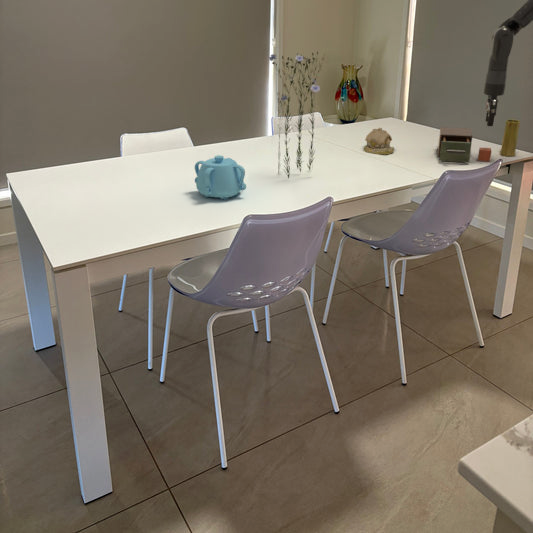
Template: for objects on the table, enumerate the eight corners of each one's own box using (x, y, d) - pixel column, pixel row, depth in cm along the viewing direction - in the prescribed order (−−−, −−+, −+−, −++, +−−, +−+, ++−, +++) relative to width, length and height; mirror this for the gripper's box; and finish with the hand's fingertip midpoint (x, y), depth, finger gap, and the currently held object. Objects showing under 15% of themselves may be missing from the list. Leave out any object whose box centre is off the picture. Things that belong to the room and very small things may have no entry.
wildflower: (310, 164, 238) (312, 46, 219) (335, 180, 219) (340, 52, 199) (258, 170, 231) (256, 49, 212) (279, 187, 212) (279, 55, 192)
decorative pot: (200, 204, 197) (198, 164, 191) (194, 189, 211) (191, 152, 205) (248, 199, 200) (247, 160, 194) (238, 185, 214) (237, 148, 208)
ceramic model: (358, 150, 259) (359, 127, 255) (374, 145, 265) (376, 123, 261) (383, 156, 249) (385, 132, 245) (399, 151, 256) (401, 128, 252)
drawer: (469, 165, 232) (472, 145, 229) (439, 163, 235) (441, 144, 232) (467, 154, 248) (470, 135, 244) (439, 152, 250) (441, 134, 247)
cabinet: (469, 159, 244) (472, 135, 240) (437, 157, 247) (440, 134, 243) (467, 150, 256) (470, 128, 252) (437, 148, 259) (440, 127, 255)
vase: (499, 155, 248) (505, 121, 242) (499, 152, 253) (505, 118, 247) (515, 157, 246) (521, 122, 240) (515, 153, 251) (521, 119, 245)
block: (477, 157, 245) (479, 147, 243) (489, 158, 244) (490, 148, 242) (478, 160, 241) (480, 150, 239) (489, 161, 240) (491, 150, 238)
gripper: (507, 85, 222) (500, 128, 229) (504, 79, 235) (497, 120, 242) (486, 84, 224) (480, 127, 231) (484, 79, 237) (478, 119, 244)
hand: (489, 123), depth 236 cm, fingers open, 8 cm apart
